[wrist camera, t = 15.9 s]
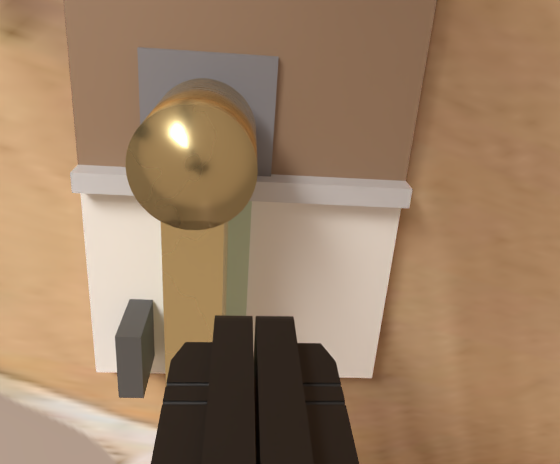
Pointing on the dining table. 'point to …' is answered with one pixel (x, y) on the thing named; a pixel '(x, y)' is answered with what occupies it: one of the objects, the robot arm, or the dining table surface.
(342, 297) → the door mockup
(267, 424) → the robot arm
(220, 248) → the swing bar
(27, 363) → the dining table surface
